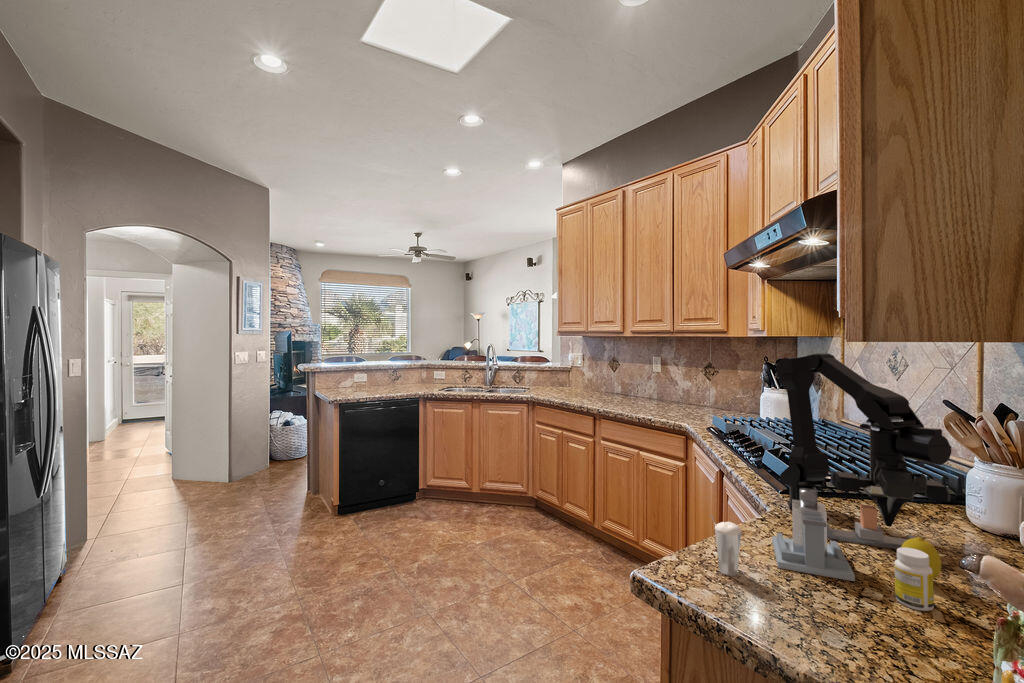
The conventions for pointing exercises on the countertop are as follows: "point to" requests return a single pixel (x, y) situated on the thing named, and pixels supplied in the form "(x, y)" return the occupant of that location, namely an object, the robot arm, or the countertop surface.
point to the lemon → (928, 549)
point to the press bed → (808, 570)
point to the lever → (868, 524)
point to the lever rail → (854, 538)
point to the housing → (809, 508)
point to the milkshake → (728, 547)
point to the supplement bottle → (913, 579)
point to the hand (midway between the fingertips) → (888, 526)
